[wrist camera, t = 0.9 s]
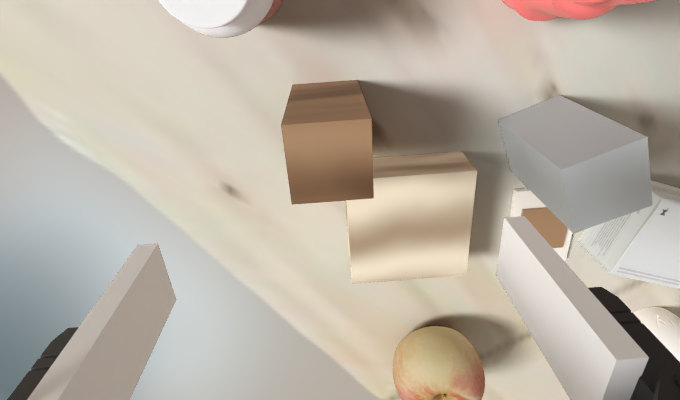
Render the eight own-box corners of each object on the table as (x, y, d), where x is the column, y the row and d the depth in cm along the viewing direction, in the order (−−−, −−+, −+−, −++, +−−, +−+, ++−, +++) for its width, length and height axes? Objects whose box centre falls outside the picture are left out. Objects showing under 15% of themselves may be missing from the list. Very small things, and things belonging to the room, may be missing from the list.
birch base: (343, 159, 34) (345, 180, 31) (461, 151, 34) (477, 170, 31) (349, 256, 39) (352, 283, 35) (453, 248, 39) (466, 275, 35)
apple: (470, 359, 46) (496, 426, 39) (393, 372, 47) (406, 441, 40) (465, 302, 42) (493, 366, 35) (381, 318, 43) (393, 384, 36)
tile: (513, 189, 36) (517, 193, 36) (580, 184, 36) (585, 188, 36) (502, 261, 40) (505, 266, 39) (563, 257, 40) (567, 262, 39)
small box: (574, 241, 39) (607, 275, 35) (621, 170, 36) (664, 197, 31) (642, 257, 41) (682, 292, 36) (694, 189, 37) (745, 218, 33)
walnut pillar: (292, 84, 31) (281, 125, 22) (357, 80, 31) (371, 118, 22) (299, 146, 34) (291, 204, 25) (360, 141, 34) (373, 198, 25)
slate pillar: (497, 119, 33) (561, 169, 24) (559, 94, 32) (647, 136, 24) (510, 170, 35) (573, 233, 27) (568, 148, 35) (652, 205, 26)
